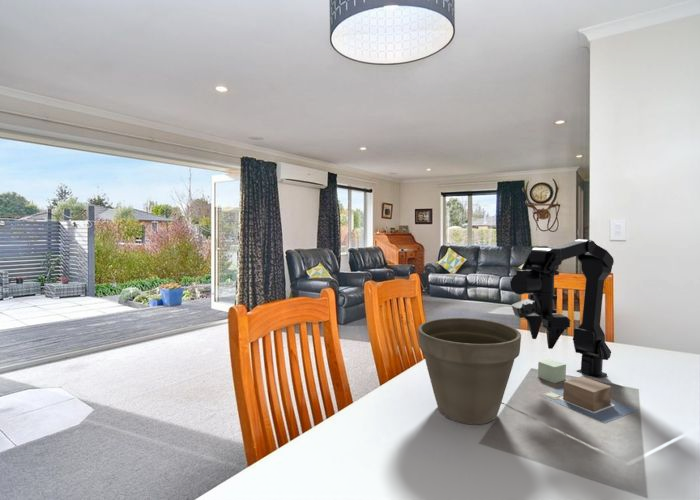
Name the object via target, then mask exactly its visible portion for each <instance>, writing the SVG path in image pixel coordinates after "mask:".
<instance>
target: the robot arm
mask: <svg viewBox="0 0 700 500" xmlns="http://www.w3.org/2000/svg"><path fill="white" fill-rule="evenodd" d="M571 258H576V259H577V261H579V263H580V267H581V272H582V274H583V275H584V277H585V288H584V296H583V297H584V298H583V308H582V317H581V324H580V325H578V327H575V328H574V329H573V336H572V341H573V346H574V351H575V353H577V354H581V362H580V365H581V366H580V369H577V370H576V372H578V373H580V374H583V375H586V376H589V377H592V378H594V379H600V378H603V377H607V376H608V373H607V372H604V371H603V364H604V363H603V362H604V360H605V361H609V359H610V358H611V354H612V350H611V349H610V348H609V346H608V345H607V343H606V335H605V332H604V331H603V329H602V327H601V319H602V318H601V317H602V310H603V309H602V307H603V297H604V287H605V280H606V279H607V278H608V277H609V276H610V274H611V273H612V269H613V266H614V263H615V261H614V257H613V256H612V255H611V254H610V252H609V251H608V250H607V249H605V248H603V247H601V246H600V245H598V244H597V243H595V241H593V240H592V239H585V238H584V239H579V238H578V239H576V240H573V241H571V242H567V243H564V244H561V245H560V244H559V245H557V246H554V247H533V248H532V249H531V250H530V252H529V254H528V255H527V257H526V259H525V261H524V263H523V265H522V267H521V269H517V270H516V274H515V275H513V276H512V277H511V280H510V283H509V284H510V289H511V291H513V292H514V294H516V295H528V298H526V299H522V300H520V301H517V302H515V303H513V304H511V307H512V308H511V309H512V311H513V313H514V316H516V317H518V318H520V319H524V320H525V321H526V322H527V325H528V328H529V332H530V336H531V339H532V340H537V338H538V335H539V333H540V328H541V327H542V328H543V329H544V330H545V332H546V333H545V334H546V341H547V343H546V344H547V348H548V350H552V349H553V348H554V347H555V345H556V343H557V342H558V340H559V339H560V337H561V336H562V335H563V333H564V331H565V330H568V328H571V319H570V318H569V317H568V316H566V315H564V314H562V313H558V309H556V308H554V307H555V300H557V299H558V295H556V294H555V276H559V275H560V272H559V271H558V270H556V268H557V267H559V266H560V265H562V262H563V261H565V260H568V259H571Z"/></svg>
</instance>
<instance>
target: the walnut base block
mask: <svg viewBox="0 0 700 500" xmlns="http://www.w3.org/2000/svg"><path fill="white" fill-rule="evenodd" d="M563 387H564V391H563V399H564V400H566V401H569V402H571V403H573V404H576V405H578V406H581V407H583V408H586V409H588V410H591V411H595V410H598V409H601V408H603V407H606V406H609V405H611V400H612V386H611V385H608V384H605V383H603V382H600V381H596V380H593V379H591V378H588V377H584V376H577V377H574V378H571V379H567V380H564V381H563Z"/></svg>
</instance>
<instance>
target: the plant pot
mask: <svg viewBox="0 0 700 500" xmlns="http://www.w3.org/2000/svg"><path fill="white" fill-rule="evenodd" d="M417 330H418V331H417V333H418V346H419V349H420V350H421V351H422V352H423V355H424V359H425V364H426V369H427V372H428V376H429V379H430V383H431V387H432V391H433V395H434V398H435V401H436V405H437V408H438V410H439V412H440V414H441V415H443V416H444V417H446V418H448V419H450V420H451V419H452V420H451V421H453V422H457V423H460V422H461V424H466V425H483V424H484V425H485V424H488V423H491V422H493V421H494V420H495V419H496V418H497V417H498V414H499V411H500V408H501V405H502V402H503V398H504V395H505V391H506V389H507V385H508V382H509V379H510V375H511V372H512V369H513V366H514V363H515V360H516V359H517V358H518V357H519V355H520V353H521V342H522V341H521V339H522V333H521V332H520V331H519V330H518V329H517V328H515V327H513V326H511V325H508V324H505V323H501V322H498V321H493V320H487V319H482V318H473V317H472V318H471V317H446V318H445V317H444V318H437V319H436V318H435V319H431V320H428V321H425V322H422V323H421V324H420V325H419V326H418V328H417Z"/></svg>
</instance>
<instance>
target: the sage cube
mask: <svg viewBox="0 0 700 500" xmlns="http://www.w3.org/2000/svg"><path fill="white" fill-rule="evenodd" d="M537 365H538V366H537V367H538V368H537V378H540V379H542V380H544V381H546V382H550V383H552V384H556V383H560V382H564V381H567V380H566V379H567V377H566V375H567V364H566V363H564V362H560V361H557V360H554V359H551V358H547V359H543V360H540V361H538V363H537Z"/></svg>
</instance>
